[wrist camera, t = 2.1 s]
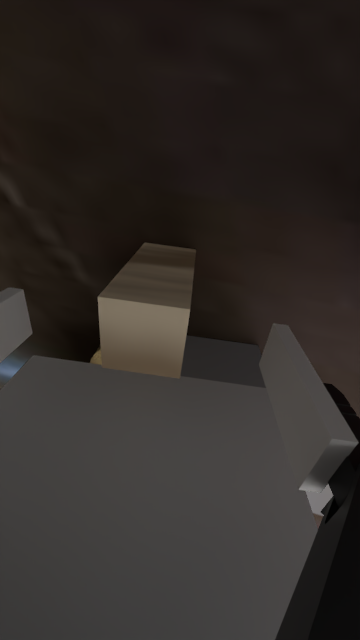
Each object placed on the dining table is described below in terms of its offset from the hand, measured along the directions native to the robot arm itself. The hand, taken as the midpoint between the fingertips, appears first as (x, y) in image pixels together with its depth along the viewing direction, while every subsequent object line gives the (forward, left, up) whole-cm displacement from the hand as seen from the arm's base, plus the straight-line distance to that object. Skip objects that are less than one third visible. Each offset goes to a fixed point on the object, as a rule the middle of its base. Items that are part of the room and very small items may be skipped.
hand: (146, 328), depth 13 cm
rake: (+8, -3, -8) cm, 11 cm away
